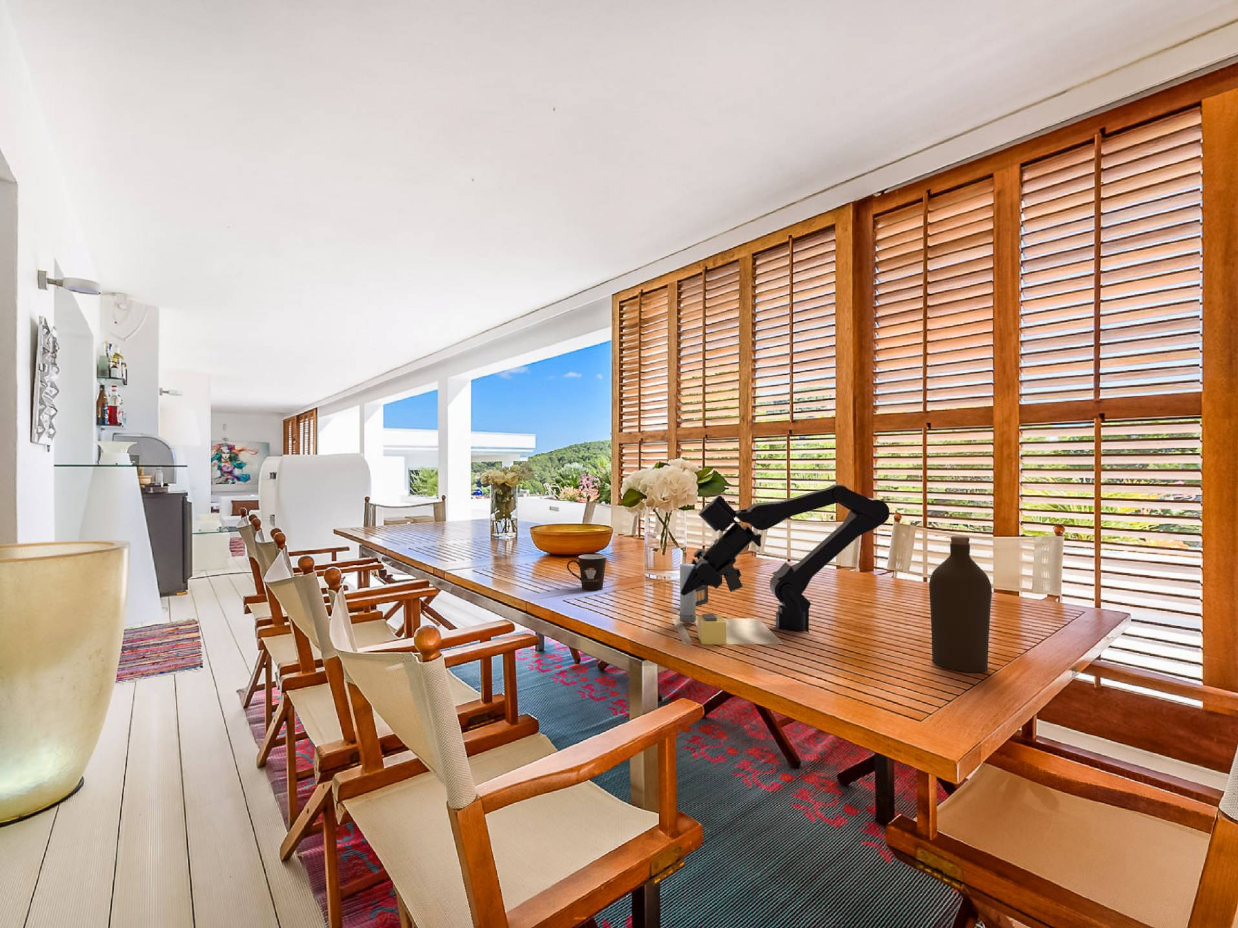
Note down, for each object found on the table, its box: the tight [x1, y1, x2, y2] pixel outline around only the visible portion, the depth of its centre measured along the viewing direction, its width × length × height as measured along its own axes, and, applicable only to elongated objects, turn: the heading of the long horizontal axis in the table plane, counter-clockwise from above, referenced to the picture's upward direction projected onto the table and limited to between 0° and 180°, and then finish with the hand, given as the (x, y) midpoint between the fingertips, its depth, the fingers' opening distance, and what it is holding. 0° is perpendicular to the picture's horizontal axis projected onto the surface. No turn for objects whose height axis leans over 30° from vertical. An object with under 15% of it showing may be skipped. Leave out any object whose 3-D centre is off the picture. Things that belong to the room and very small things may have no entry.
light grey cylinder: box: [679, 563, 697, 624], centre depth 138 cm, size 4×4×13 cm
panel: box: [671, 617, 784, 646], centre depth 133 cm, size 21×20×2 cm
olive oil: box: [928, 535, 993, 673], centre depth 115 cm, size 11×11×25 cm
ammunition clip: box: [689, 562, 709, 607], centre depth 163 cm, size 11×2×12 cm, turn 140°
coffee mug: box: [566, 554, 607, 592], centre depth 184 cm, size 12×9×10 cm
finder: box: [697, 613, 727, 645], centre depth 126 cm, size 5×6×5 cm
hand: (681, 592), depth 138 cm, fingers closed on light grey cylinder, 3 cm apart
